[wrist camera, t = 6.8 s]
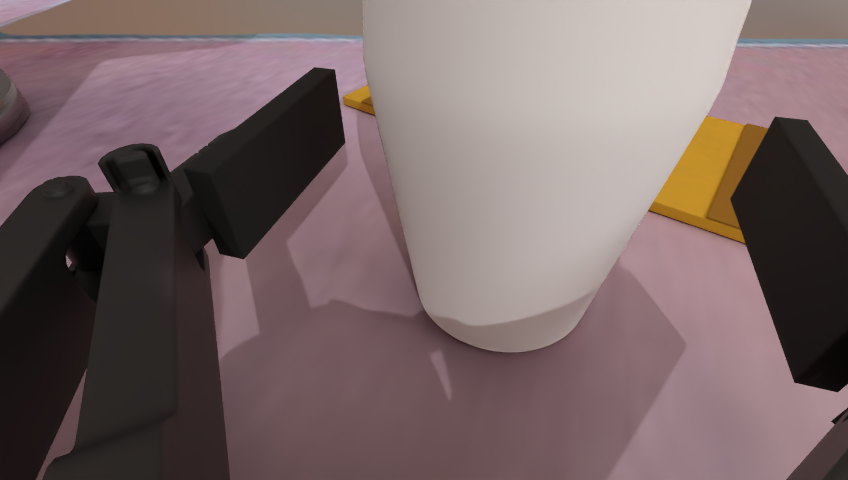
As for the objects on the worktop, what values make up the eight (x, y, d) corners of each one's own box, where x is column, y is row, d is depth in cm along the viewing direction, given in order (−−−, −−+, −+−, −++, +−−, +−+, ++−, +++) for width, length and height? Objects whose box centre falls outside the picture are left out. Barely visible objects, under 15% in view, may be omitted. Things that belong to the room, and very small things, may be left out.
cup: (456, 194, 23) (469, -103, 15) (642, 260, 19) (794, -92, 11) (340, 313, 17) (258, -68, 9) (571, 439, 13) (780, -18, 5)
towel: (344, 104, 31) (342, 94, 30) (436, 58, 37) (436, 49, 37) (784, 257, 19) (793, 245, 18) (806, 150, 25) (813, 139, 25)
